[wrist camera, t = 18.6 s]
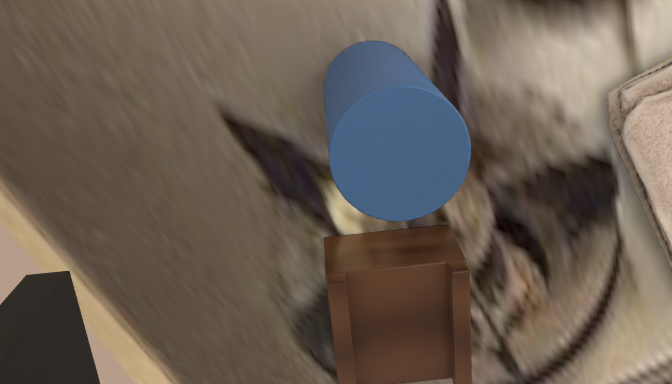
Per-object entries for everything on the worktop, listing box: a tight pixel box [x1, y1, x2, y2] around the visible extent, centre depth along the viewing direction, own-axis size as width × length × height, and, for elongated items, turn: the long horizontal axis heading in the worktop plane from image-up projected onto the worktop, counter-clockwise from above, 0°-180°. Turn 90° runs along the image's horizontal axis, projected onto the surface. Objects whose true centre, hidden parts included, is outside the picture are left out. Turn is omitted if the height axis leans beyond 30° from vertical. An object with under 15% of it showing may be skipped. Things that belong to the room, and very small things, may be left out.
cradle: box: [324, 225, 472, 384], centre depth 39 cm, size 8×8×6 cm
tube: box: [324, 41, 471, 221], centre depth 31 cm, size 13×6×6 cm
